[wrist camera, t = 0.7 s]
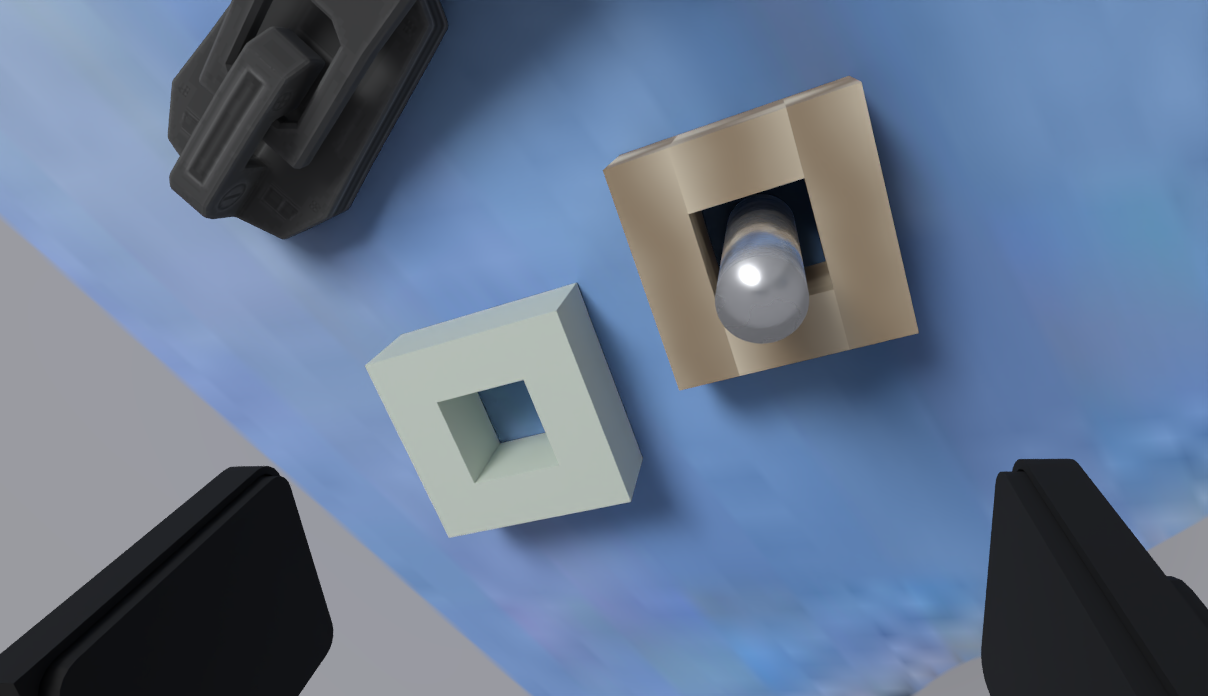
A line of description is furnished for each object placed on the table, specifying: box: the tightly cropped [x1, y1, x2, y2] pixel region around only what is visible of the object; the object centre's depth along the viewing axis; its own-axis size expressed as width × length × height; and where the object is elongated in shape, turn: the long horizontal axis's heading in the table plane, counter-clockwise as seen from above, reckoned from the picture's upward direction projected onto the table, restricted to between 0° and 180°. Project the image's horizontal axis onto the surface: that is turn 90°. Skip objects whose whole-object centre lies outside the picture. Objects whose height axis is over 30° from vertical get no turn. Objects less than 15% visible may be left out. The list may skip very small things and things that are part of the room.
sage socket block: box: [365, 283, 643, 538], centre depth 37 cm, size 10×10×4 cm
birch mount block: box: [603, 76, 919, 390], centre depth 32 cm, size 10×10×4 cm
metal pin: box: [715, 194, 809, 344], centre depth 29 cm, size 3×3×10 cm
